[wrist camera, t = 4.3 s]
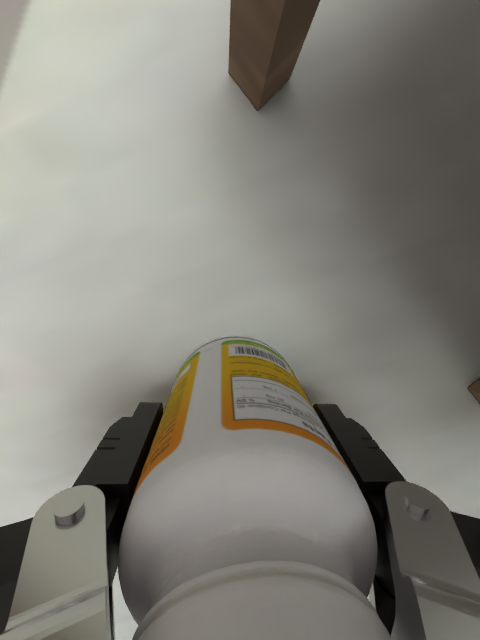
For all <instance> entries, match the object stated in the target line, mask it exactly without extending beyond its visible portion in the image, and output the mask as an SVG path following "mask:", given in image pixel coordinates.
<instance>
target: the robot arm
mask: <svg viewBox="0 0 480 640" xmlns="http://www.w3.org/2000/svg"><path fill="white" fill-rule="evenodd" d="M313 408H314V410H315V411H316V413H317V415H318V417H319V418H320V420H321V422H322V424H323V425H324V427H325V429H326V430H327V432H328V434H329V436H330V437H331V439H332V441H333V443H334V444H335V446H336V448H337V450H338V451H339V453H340V455H341V456H342V458H343V460H344V462H345V463H346V465H347V467H348V468H349V470H350V472H351V474H352V475H353V477H354V479H355V480H356V482H357V484H358V487H359V489H360V491H361V492H362V494H363V496H364V498H365V500H366V502H367V504H368V507H369V510H370V513H371V515H372V518H373V521H374V526H375V530H376V537H377V566H376V571H375V576H374V580H373V583H372V586H371V589H370V592H369V595H370V603H371V604H372V606H373V607H374V608H375V610H376V612H377V614H378V616H379V618H380V620H381V621H382V623H383V624H384V626H385V627H386V629H387V630H388V633H389V635H390V637H391V640H480V519H478V518H474V517H470V516H466V515H462V514H458V513H454V512H451V511H449V509H448V507H447V506H446V505H445V504H444V503H443V502H442V500H440V499H439V498H438V497H437V496H436V495H434V494H433V493H432V492H430V491H429V490H427V489H425V488H423V487H421V486H419V485H416V484H413V483H410V482H407V481H406V480H405V479H404V477H403V476H402V475H401V474H400V472H399V471H398V470H397V468H396V467H395V466H394V465H393V463H392V462H391V461H390V460H389V458H388V457H387V456H386V455H385V453H384V452H383V451H382V450H381V449H380V448H379V446H378V445H377V443H376V442H375V441H374V440H372V437H371V436H370V434H369V433H368V432H367V431H366V429H365V428H364V427H363V426H361V425H360V424H359V423H357V422H356V421H354V420H353V419H351V418H346V417H345V416H344V415H343V413H342V412H341V411H340V409H339V408H338V406H337V405H336V404H314V405H313ZM162 416H163V404H162V403H160V402H141V403H139V405H138V407H137V409H136V410H135V412H134V414H133V416H132V417H122V418H121V419H120V420H118V421H117V422H116V423H114V424H113V425H112V426H110V428H109V429H108V431H107V433H106V434H105V436H104V437H103V440H102V441H101V442H100V444H99V445H98V447H97V450H95V452H94V453H93V455H92V456H91V458H90V460H89V461H88V463H87V464H86V466H85V467H84V469H83V471H82V472H81V474H80V475H79V477H78V478H77V480H76V482H75V483H74V485H73V486H72V487H71V488H68V489H66V490H63V491H61V492H59V493H58V494H56V495H54V496H53V497H51V498H50V499H49V500H48V501H46V502H45V503H44V504H43V505H42V506H41V507H40V508H39V510H38V511H37V512H36V514H35V516H34V517H33V518H30V519H27V520H24V521H20V522H17V523H13V524H10V525H6V526H3V527H0V640H115V624H114V600H113V583H112V582H113V579H114V576H115V573H116V570H117V567H118V553H119V544H120V538H121V534H122V530H123V526H124V523H125V520H126V517H127V513H128V510H129V507H130V504H131V501H132V498H133V495H134V492H135V490H136V487H137V484H138V481H139V478H140V476H141V473H142V469H143V467H144V465H145V462H146V459H147V457H148V454H149V451H150V449H151V446H152V443H153V440H154V437H155V435H156V432H157V430H158V427H159V424H160V421H161V418H162Z"/></svg>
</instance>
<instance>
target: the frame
mask: <svg viewBox="0 0 480 640" xmlns="http://www.w3.org/2000/svg"><path fill="white" fill-rule="evenodd" d="M319 2H320V0H231V11H230V42H229V74H230V75H231V76H232V78H233V79H234V80H235V82H236V83H237V84H238V86H239V87H240V88H241V90H242V91H243V92H244V94H245V95H246V96H247V98H248V99H249V100H250V101H251V103H252V104H253V105H254V107H255V108H256V109H257V111H258V110H259V109H260V108H261V107H262V106H263V105H264V104H265V103H266V102H267V101H268V100H269V99H270V98H271V97H272V96H273V95H274V94H275V93H276V92H277V91H278V90H279V89H280V88H281V87H282V85H283V84H284V83H285V82H286V81H287V80H288V79H289V78H290V76H291V74H292V71H293V69H294V66H295V64H296V61H297V58H298V56H299V53H300V51H301V48H302V46H303V43H304V40H305V38H306V35H307V33H308V30H309V28H310V25H311V23H312V20H313V17H314V15H315V12H316V10H317V7H318V5H319ZM468 389H469V390H470V391H471V393H472V394H473V395H474V397H475V398H476V399H477V401H478V402H479V403H480V379H479V380H478V381H476V382H475V383H474V384H472V385H471V386H470V387H468Z"/></svg>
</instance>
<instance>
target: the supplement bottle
mask: <svg viewBox="0 0 480 640" xmlns="http://www.w3.org/2000/svg"><path fill="white" fill-rule="evenodd" d="M376 566H377V537H376V530H375V526H374V521H373V518H372V515H371V513H370V510H369V507H368V504H367V502H366V500H365V498H364V496H363V494H362V492H361V491H360V489H359V487H358V484H357V482H356V480H355V479H354V477H353V475H352V474H351V472H350V470H349V468H348V467H347V465H346V463H345V462H344V460H343V458H342V456H341V455H340V453H339V451H338V450H337V448H336V446H335V444H334V443H333V441H332V439H331V437H330V436H329V434H328V432H327V430H326V429H325V427H324V425H323V424H322V422H321V420H320V418H319V417H318V415H317V413H316V411H315V410H314V408H313V406H312V404H311V403H310V401H309V399H308V397H307V396H306V394H305V392H304V390H303V389H302V387H301V385H300V383H299V382H298V380H297V378H296V377H295V375H294V373H293V371H292V370H291V368H290V367H289V365H288V364H287V362H286V361H285V360H284V359H283V358H282V357H281V356H280V355H279V354H278V353H277V352H276V351H275V350H273V349H272V348H271V347H269V346H267V345H265V344H263V343H261V342H259V341H255V340H252V339H247V338H225V339H220V340H217V341H214V342H211V343H209V344H207V345H205V346H203V347H201V348H200V349H198V350H197V351H196V352H195V353H193V354H192V355H191V356H190V357H189V358H188V359H187V360H186V362H185V363H184V364H183V366H182V367H181V369H180V371H179V373H178V375H177V377H176V379H175V382H174V384H173V387H172V390H171V393H170V396H169V399H168V402H167V404H166V407H165V410H164V413H163V416H162V418H161V421H160V424H159V427H158V430H157V432H156V435H155V437H154V440H153V443H152V446H151V449H150V451H149V454H148V457H147V459H146V462H145V465H144V467H143V469H142V473H141V476H140V478H139V481H138V484H137V487H136V490H135V492H134V495H133V498H132V501H131V504H130V507H129V510H128V513H127V517H126V520H125V523H124V526H123V530H122V534H121V538H120V544H119V553H118V573H119V580H120V585H121V589H122V593H123V596H124V599H125V602H126V604H127V606H128V608H129V610H130V612H131V614H132V616H133V618H134V620H135V621H136V622H137V624H138V625H139V626H138V628H137V630H136V632H135V634H134V636H133V639H132V640H391V637H390V635H389V633H388V630H387V629H386V627H385V626H384V624H383V623H382V621H381V620H380V618H379V616H378V614H377V612H376V610H375V608H374V607H373V606H372V604H371V603H370V601H369V600H368V599H367V596H368V594H369V592H370V589H371V586H372V583H373V580H374V576H375V571H376Z"/></svg>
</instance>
